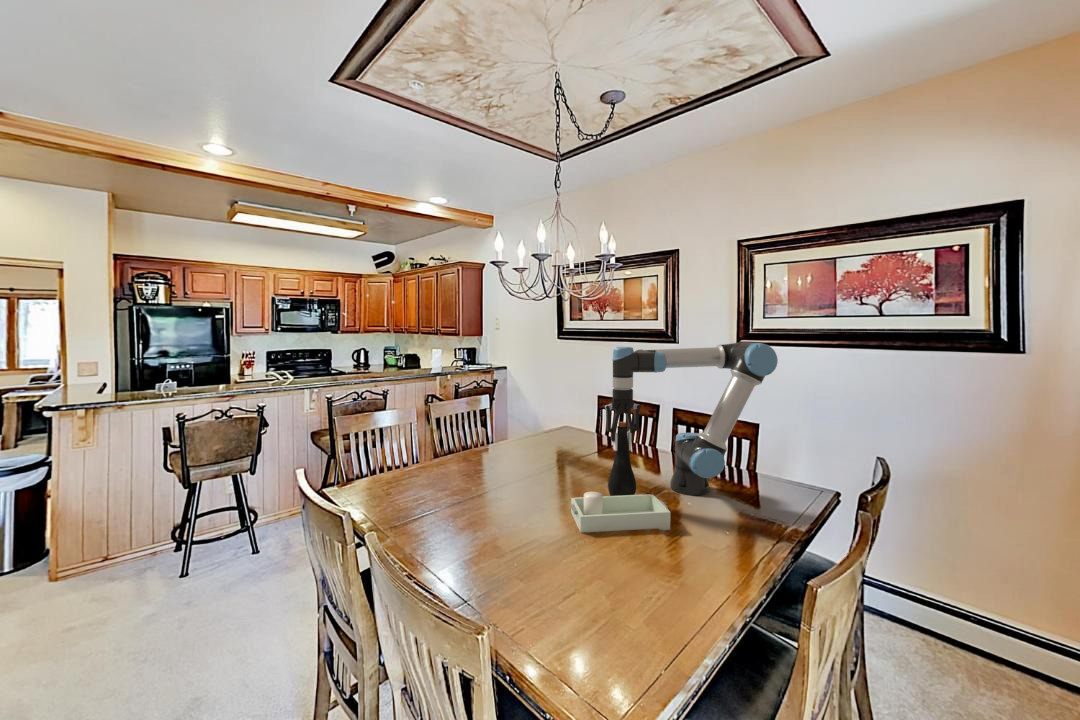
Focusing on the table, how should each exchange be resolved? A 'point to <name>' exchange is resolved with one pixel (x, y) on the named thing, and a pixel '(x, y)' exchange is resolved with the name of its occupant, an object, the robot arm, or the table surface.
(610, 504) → the tote
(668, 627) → the table surface
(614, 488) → the bottle
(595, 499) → the cream capsule cylinder
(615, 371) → the robot arm
